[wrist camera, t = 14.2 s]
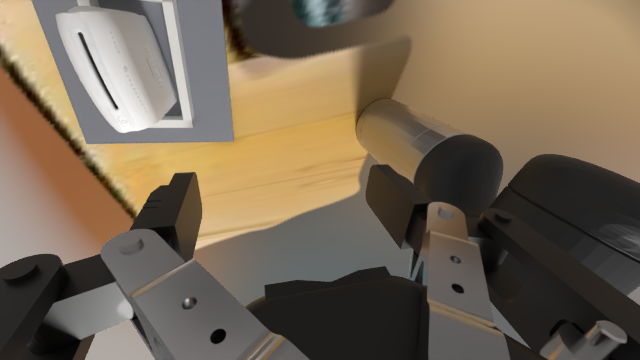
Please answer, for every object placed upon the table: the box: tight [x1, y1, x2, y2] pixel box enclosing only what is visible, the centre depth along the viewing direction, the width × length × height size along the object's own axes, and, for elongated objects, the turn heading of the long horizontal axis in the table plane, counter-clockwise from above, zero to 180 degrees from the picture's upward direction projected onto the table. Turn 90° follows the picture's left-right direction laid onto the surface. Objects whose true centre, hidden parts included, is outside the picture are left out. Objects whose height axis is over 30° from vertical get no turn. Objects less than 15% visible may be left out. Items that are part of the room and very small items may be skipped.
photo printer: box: [55, 6, 177, 133], centre depth 25 cm, size 10×4×12 cm, turn 6°
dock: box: [32, 0, 234, 144], centre depth 30 cm, size 18×20×3 cm
